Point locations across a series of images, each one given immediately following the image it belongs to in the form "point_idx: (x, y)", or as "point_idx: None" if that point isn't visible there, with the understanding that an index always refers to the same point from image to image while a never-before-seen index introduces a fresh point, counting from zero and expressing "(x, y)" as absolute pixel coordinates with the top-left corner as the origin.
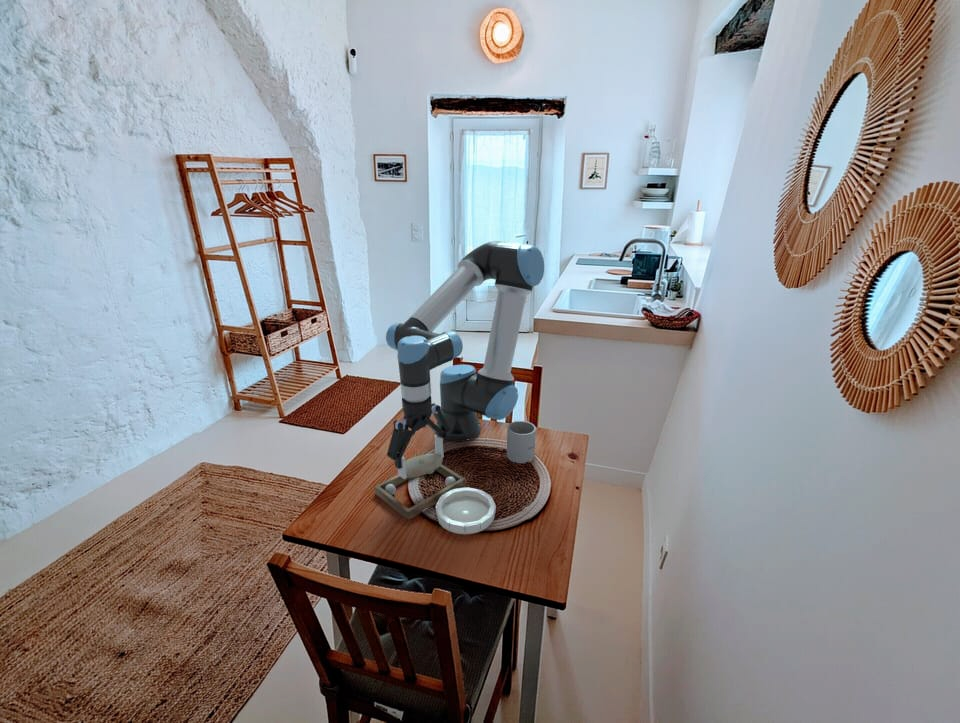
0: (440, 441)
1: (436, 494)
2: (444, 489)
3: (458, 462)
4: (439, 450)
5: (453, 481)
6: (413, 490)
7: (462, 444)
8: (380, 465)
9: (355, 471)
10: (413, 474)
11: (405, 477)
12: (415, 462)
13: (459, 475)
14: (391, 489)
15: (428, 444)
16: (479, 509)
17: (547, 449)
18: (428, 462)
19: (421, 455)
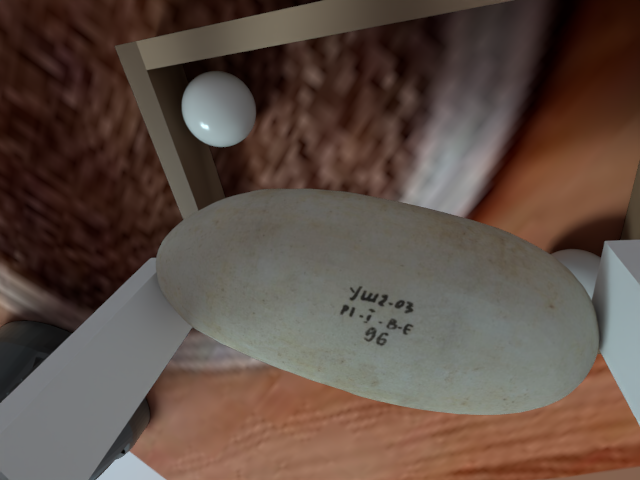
0: (24, 414)
1: (386, 3)
2: (298, 25)
3: (126, 243)
4: (134, 326)
5: (199, 80)
6: (436, 209)
7: (79, 320)
8: (435, 429)
9: (548, 466)
10: (513, 240)
11: (631, 249)
12: (437, 343)
13: (141, 109)
14: (594, 273)
15: (201, 396)
16: None
17: None
18: (310, 262)
19: (318, 378)
